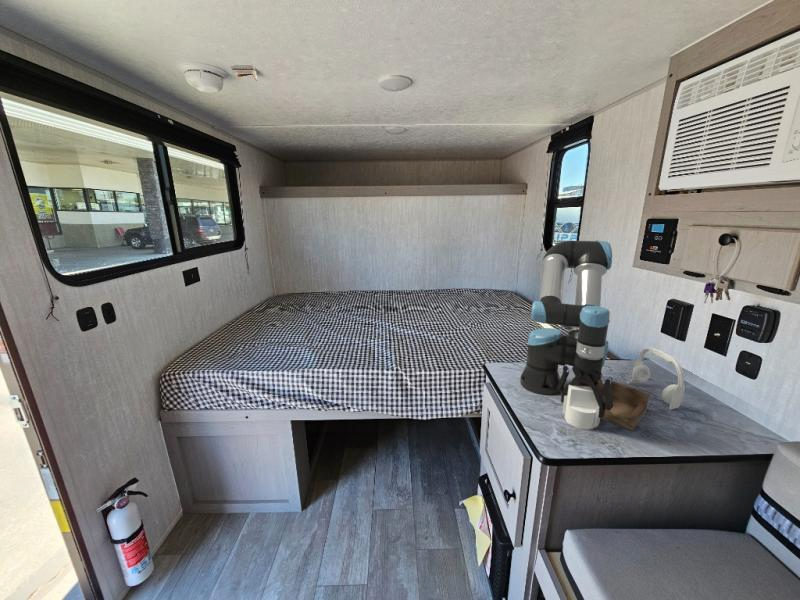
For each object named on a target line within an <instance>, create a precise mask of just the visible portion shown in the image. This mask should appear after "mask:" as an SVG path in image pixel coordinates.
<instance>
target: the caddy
mask: <svg viewBox="0 0 800 600" xmlns="http://www.w3.org/2000/svg"><path fill="white" fill-rule="evenodd" d="M598 383H599V387H600V390H601V393H602V395H603V398H604V400H605V394H604V384H603V383H602V380H601V379H600V380H598ZM575 385H577V386H587V387H590V385H588V384H586V383H584V382H579V380H578V381H577V383H576V384H575ZM611 391H612V399H613V408H612V409H611V410H605V415H604V417H603V418H602V420H605V421H608V422H610V423H613V424H615V425H618V426H620V427H623V428H625V429H628V430H630V431H634V429H636V427H637V425H638V424H639V423H640V421H641V419H643V417H644V416H645V414H646V412H647V411H648V410H647V409H648V405H649V400H650V396H651V395H650V394H651V392H648V391H645V390H642V389H639V388H635V387H632V386H629V385H628V384H627V385H626V384H623V383H620V382H617V381H614V380H612V383H611ZM567 393H568V392H567Z"/></svg>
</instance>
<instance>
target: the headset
mask: <svg viewBox="0 0 800 600" xmlns="http://www.w3.org/2000/svg"><path fill="white" fill-rule="evenodd" d="M648 352H650V353H651V354H652V355H654V356H656V357H657V358H660V359H662V360H664V361H666V362H668V363H669V364H673V365H674V366H675V370H676V375H677V384H670V385H668V386H666V387H664V389H663V391H662V393H661V397H662V398H661V399H662V400H663V401H664V402H665V403H667V404H669V405H668V406H669V407H668V409H669V410H670V411H671V410H674V409H678V408H680V405H681V403H682V400H683V397H684V394H685V390H686V387H685V378H684V377H685V376H684V372H683V371H684V370H683V368H682V366H681V364H680V362H679V361H678V360H677V359H676V358H675V357H673V356H672V355H670V354H668V353H666V352H664V351H662V350H660V349H658V348H654V347H647V348H645V349H643V350H642V351H641V352H640V353H639V355H638V357H637V359H636V360H635V361H634V364H633V368H632V372H631V377H632V378H631V380H627V381H626V384H627V385H630V384H637V383H639V384H643V383H645V382H647V381H648V380H649V379H650V377H651V369H650V368H649V367H648V366H647V365H644V362H643V359H644V357H645V355H646V353H648Z"/></svg>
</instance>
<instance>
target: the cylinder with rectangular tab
mask: <svg viewBox="0 0 800 600" xmlns="http://www.w3.org/2000/svg"><path fill="white" fill-rule="evenodd" d="M597 407H598V403H597V400H596V398H595V395H594V393H593V390H592V388H591V387H587V386H577V385H573V386H571V385H569V387H568V395H567V403H566V411H565V414H564V420H565V421H566V422H567V423H568V424H569V425H571V426H572V427H575V428H577V429H579V430H580V429H582V430H586V431H587V430H593V429H595V428H596V427H594V420H595V414H596V408H597Z"/></svg>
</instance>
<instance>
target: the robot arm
mask: <svg viewBox="0 0 800 600" xmlns="http://www.w3.org/2000/svg"><path fill="white" fill-rule="evenodd" d="M612 264H613V250H612V246H611V244H610V243H609V242H608V241H604V240H603V241H602V240H564V241H561V242H557V243H555V244H554V245H553V246H551V247H550V248H549V249H548V250H547V251H546V253H544V255H543V258H542V264H541V265H542V267H543V274H542V281H541V285H540V286H541V287H540V292H539V300H535V301H533V302H532V305H531V312H530V313H531V314H530V319H531V320H532V322H535V323H541V324H549V325H557V326H566V327H572V328H571V329H570V330H568V334H567V335H565V334H563V332H562V330H560V329H556V328H552V327H550V328H549V327H543V328H537V329H534V330H532V331H530V332H529V336H528V340H527V344H528V345H527V352H526V363H525V366H524V369H523V371H522V372H521V374H520V379H519V383H520V385H521V386H522V387H523V388H524V389H525V390H528V391H530V392H531V393H535V394H540V395H546V396H547V395H556V394H558V393H560V394H561V397H560V402H561V403H562V404H563V405H562V412H561V413H562V414H564V415H565V411H566V403H567V395H568V393H567V392H568V387H569V385H571V386H573V385H575V384H576V383H577V381H578V380H579V382H584V383H586V384H588V385H590V387H591V388H592V390H593V393H594V395H595V398H596V400H597V403H598V407H597V408H596V414H595V420H594V427H595V428H597V427H598V426H599V424H600V420H601V419H602V418H603V417H604V415H605V410H611V409H612V408H613V399H612V391H611V383H612V381H613V378H612V377H611V376H610V377H606V376H604V375H603V374H602V369H603V368H604V365H605V361H606V359H607V355H608V351H609V350H608V349H609V340H607V337H608V336H607V334H608V329H609V324H610V322H611V320H610V314H611V312H610V310H609V309H608V308H605V307H602V306H601V302H602V301H601V299H602V283H603V282H602V280H603V276H604V275H606V273H607V271H609V270H610V269H611V268H612ZM567 269H573V273H574V274H575V275H576V276H577V277H576V289H575V290H576V291H575V301H574V304H571V303H563V294H564V293H563V291H564V282H565V281H564V278H565V270H567ZM559 366H562V373H561V376H560V372H559ZM571 372H573V375H574V377H573V378H572V379H571V380H570V382H569V383H568V384H567V385H566V387H564V386H565V383H566V382H567V379H568V377H569V374H570V373H571ZM600 379H601V380H602V383H603V384H604V394H605V400H604V398H603V395H602V393H601V390H600V387H599V383H598V380H600ZM602 420H603V419H602Z"/></svg>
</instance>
